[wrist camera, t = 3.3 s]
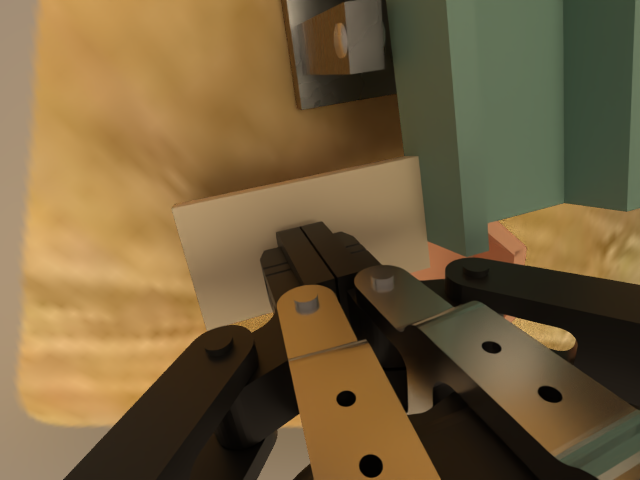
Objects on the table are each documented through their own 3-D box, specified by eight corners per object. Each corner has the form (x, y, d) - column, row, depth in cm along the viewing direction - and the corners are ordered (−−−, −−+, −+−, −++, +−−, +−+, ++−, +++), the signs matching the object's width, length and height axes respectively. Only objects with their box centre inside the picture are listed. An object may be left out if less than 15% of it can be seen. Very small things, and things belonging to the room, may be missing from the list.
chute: (514, -179, 14) (705, -393, 8) (526, 212, 18) (663, 237, 12) (74, -178, 11) (-70, -518, 5) (208, 297, 15) (204, 380, 9)
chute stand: (491, -32, 19) (633, -83, 13) (485, 76, 21) (603, 76, 15) (279, -11, 17) (328, -60, 11) (296, 108, 19) (346, 123, 13)
